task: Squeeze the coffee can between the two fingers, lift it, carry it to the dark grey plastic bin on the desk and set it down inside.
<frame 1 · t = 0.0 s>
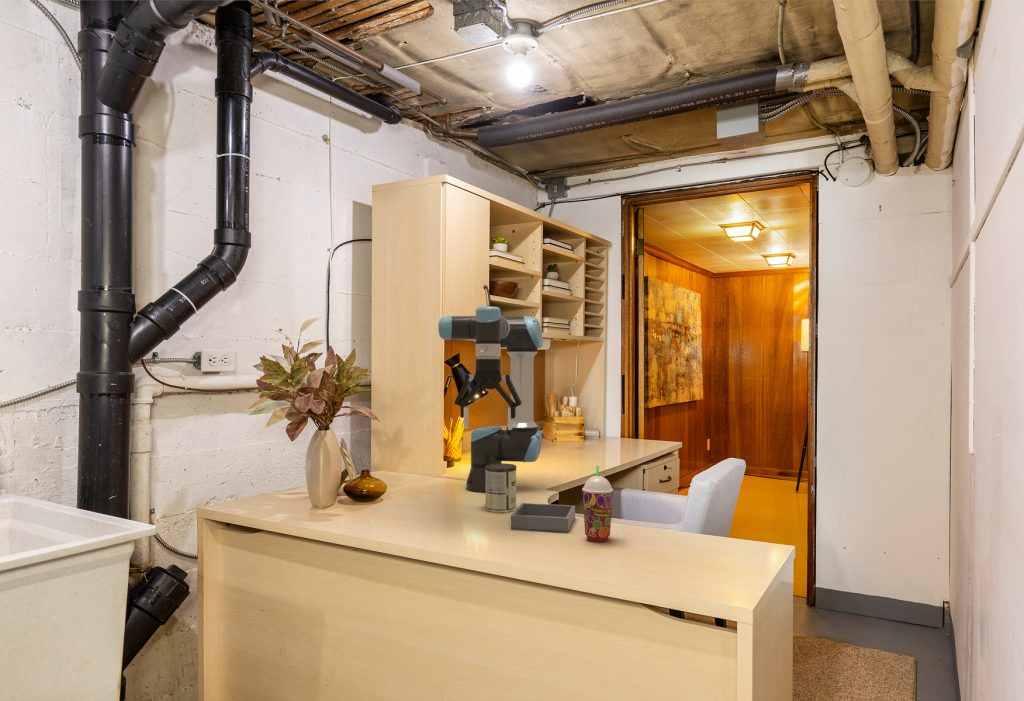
hand: (487, 429, 197), 28 cm above the table, fingers open, 13 cm apart
smoothie: (597, 540, 179), on the table
coffee can: (500, 509, 214), on the table
bin: (543, 523, 195), on the table
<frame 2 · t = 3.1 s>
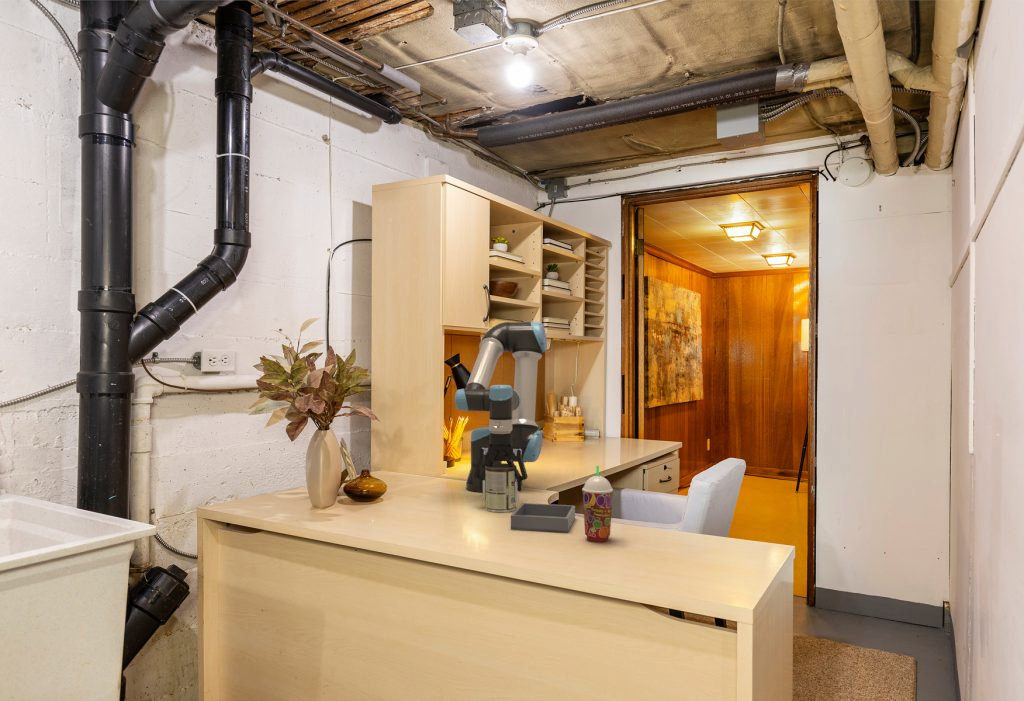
hand: (500, 500, 214), 3 cm above the table, fingers closed on coffee can, 10 cm apart
coffee can: (500, 509, 214), on the table, touching gripper
everything else where it was.
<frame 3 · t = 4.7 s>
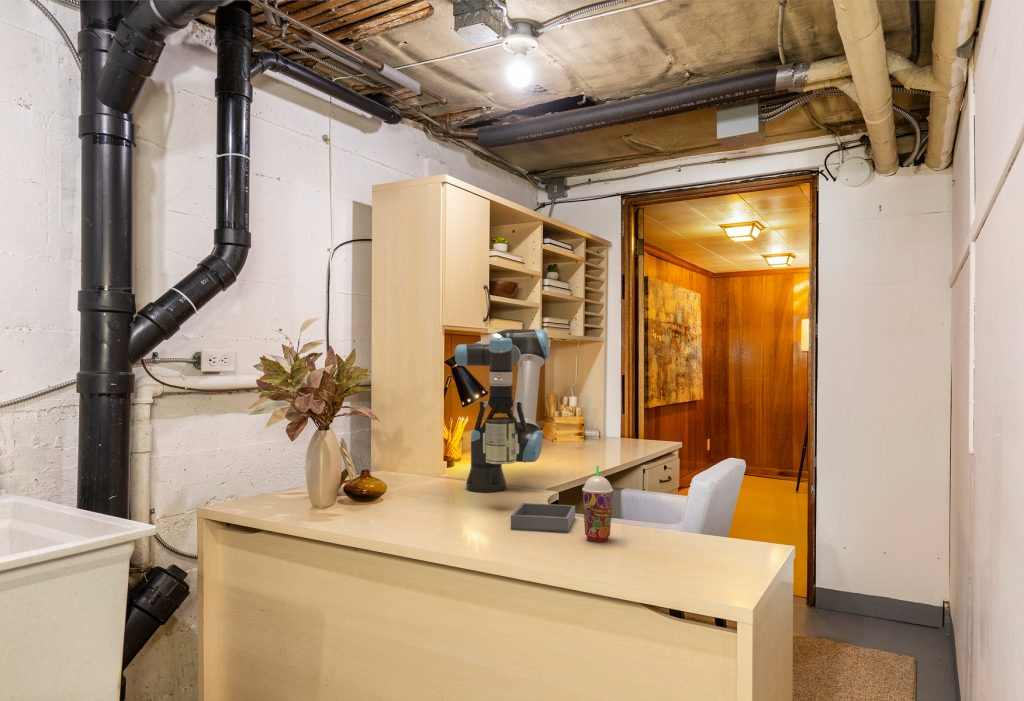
hand: (501, 452, 215), 18 cm above the table, fingers closed on coffee can, 10 cm apart
coffee can: (501, 462, 215), point 15 cm above the table, touching gripper
everything else where it was.
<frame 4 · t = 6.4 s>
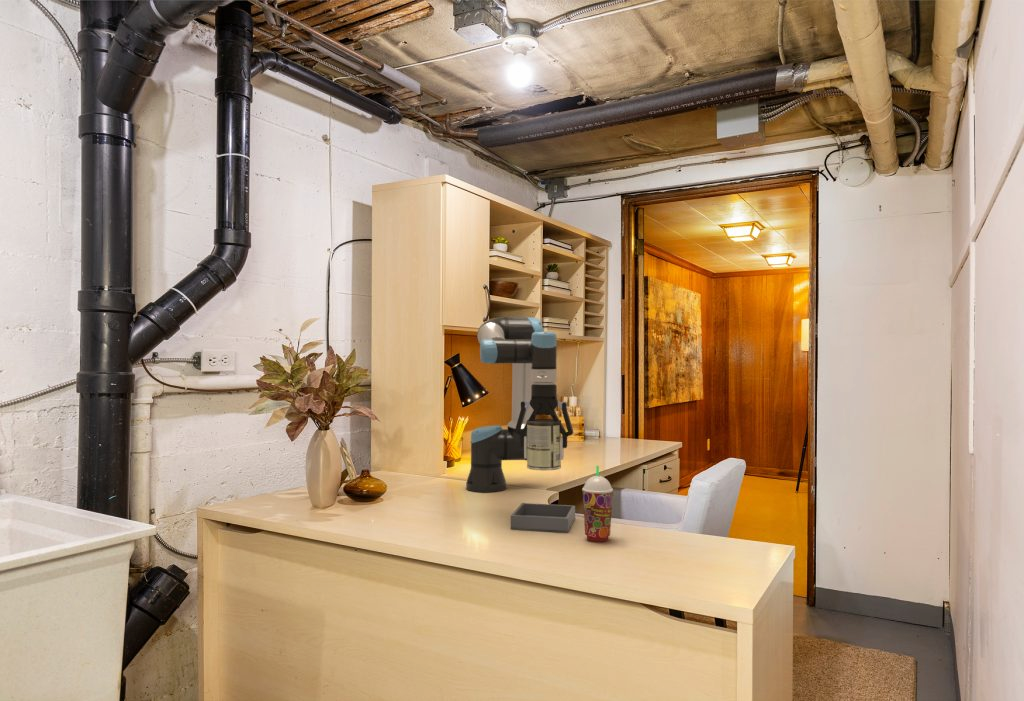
hand: (543, 458, 195), 19 cm above the table, fingers closed on coffee can, 10 cm apart
coffee can: (543, 468, 195), point 17 cm above the table, touching gripper
everything else where it was.
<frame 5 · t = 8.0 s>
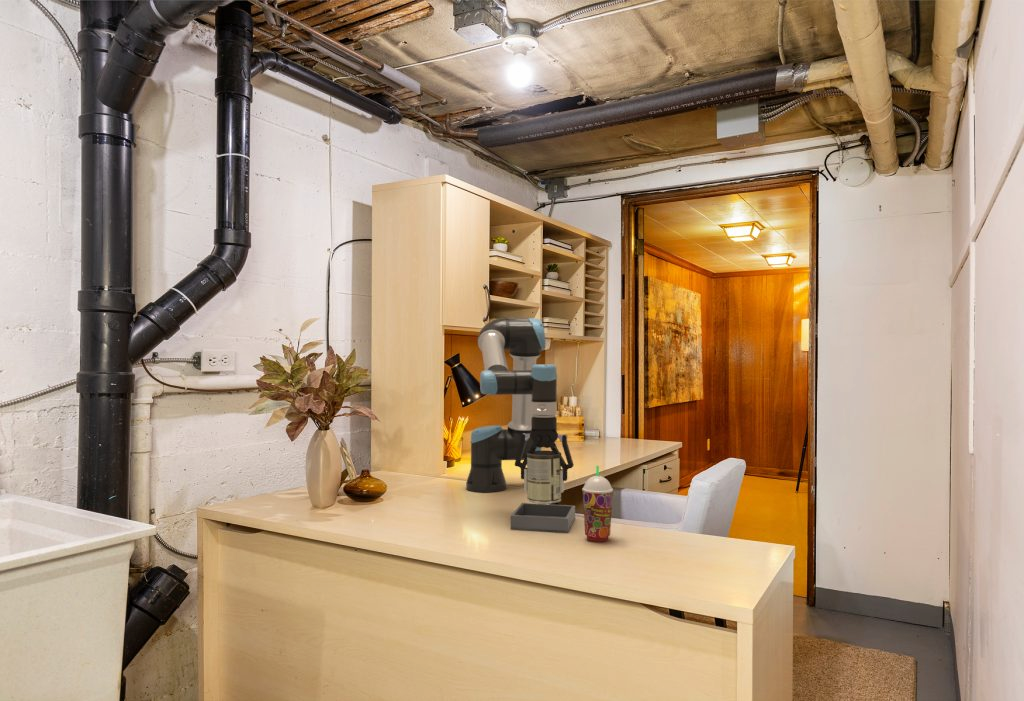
hand: (544, 490, 195), 10 cm above the table, fingers closed on coffee can, 10 cm apart
coffee can: (543, 500, 195), point 7 cm above the table, touching gripper
everything else where it was.
when the fingers open (6 cm above the table, at t = 9.4 s): coffee can drops 2 cm, resting on bin.
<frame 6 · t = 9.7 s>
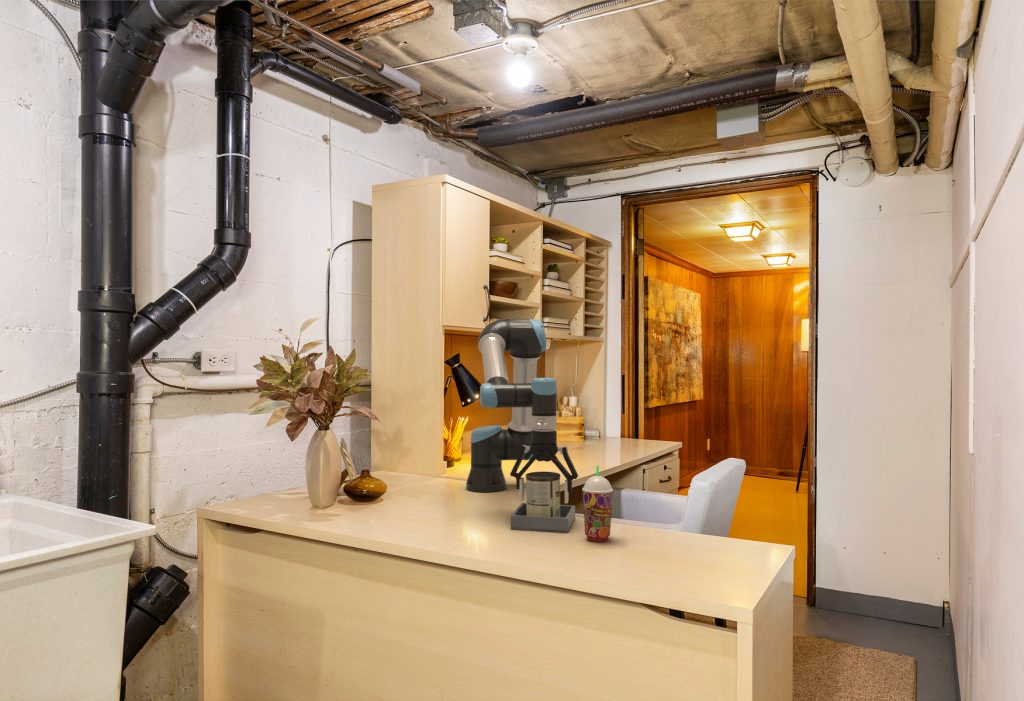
hand: (543, 501, 195), 7 cm above the table, fingers open, 13 cm apart
coffee can: (543, 522, 195), resting on bin
everything else where it was.
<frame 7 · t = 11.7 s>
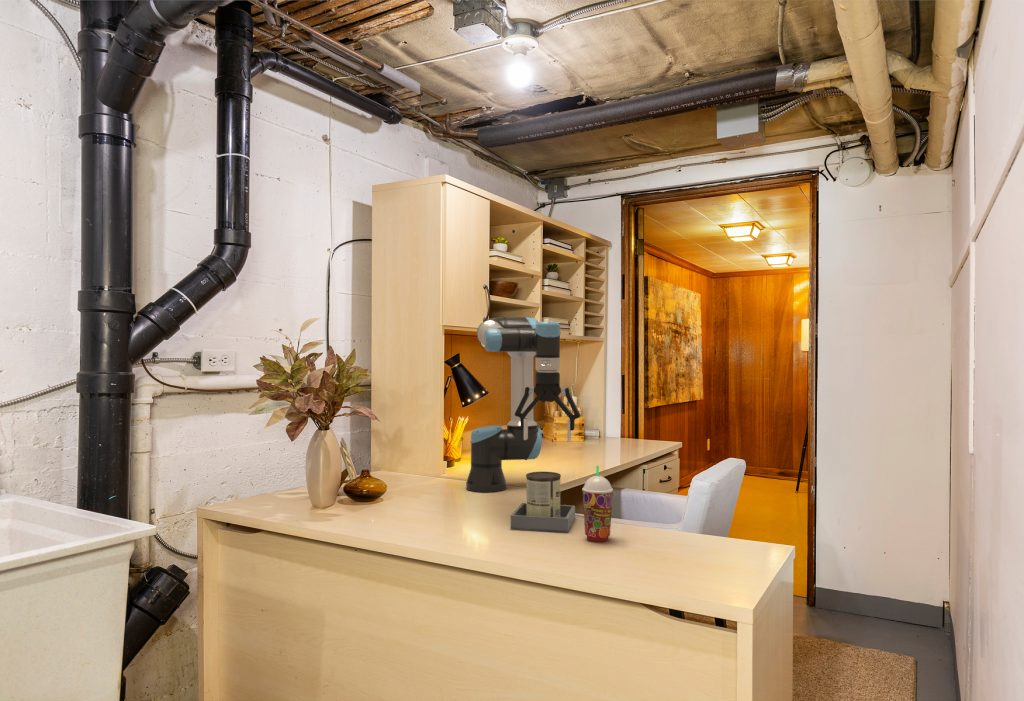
hand: (547, 440, 203), 24 cm above the table, fingers open, 13 cm apart
nothing on the table moved.
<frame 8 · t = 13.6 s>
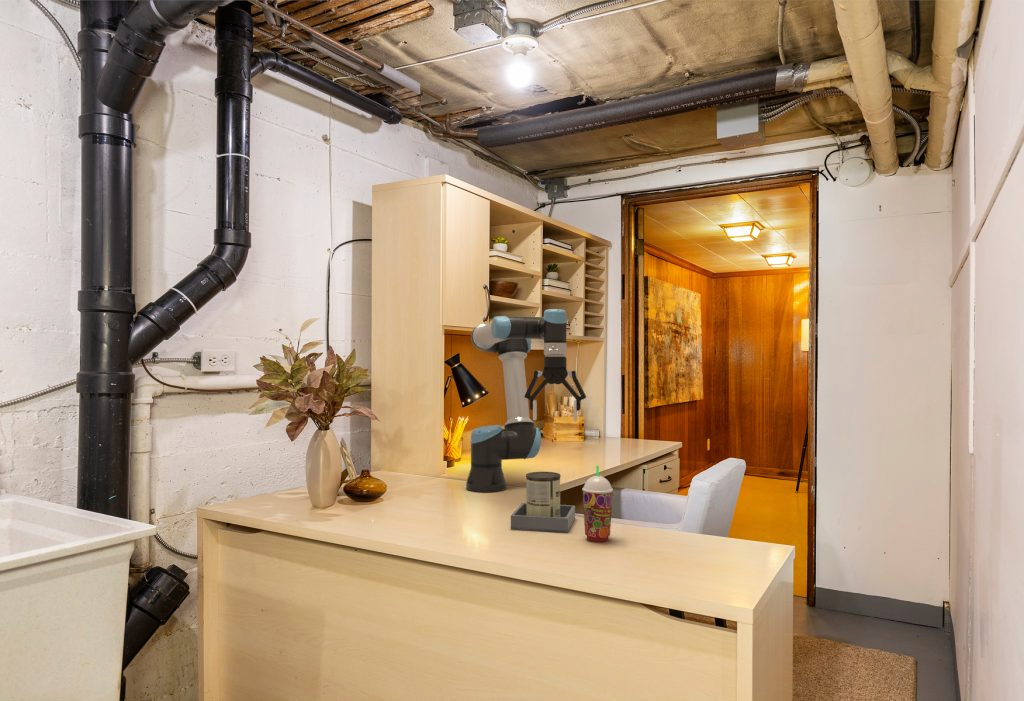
hand: (555, 420, 217), 29 cm above the table, fingers open, 13 cm apart
nothing on the table moved.
at the end: coffee can inside the target area on the bin (0.2 cm from its centre), point 0.4 cm above the bin's base; coffee can tilted 0°; the gripper is holding nothing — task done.
